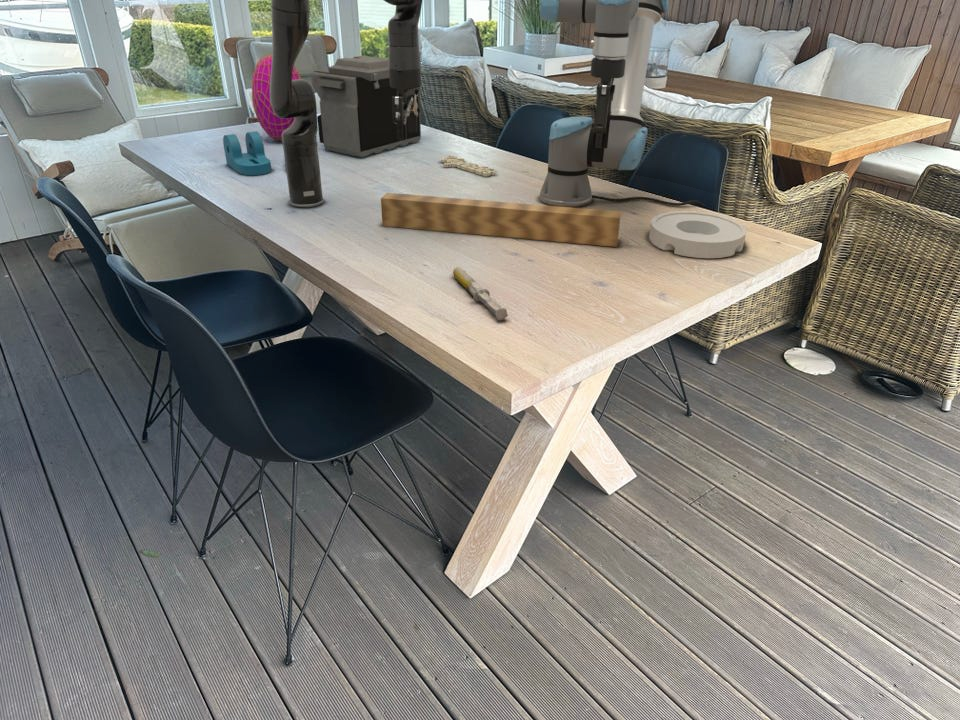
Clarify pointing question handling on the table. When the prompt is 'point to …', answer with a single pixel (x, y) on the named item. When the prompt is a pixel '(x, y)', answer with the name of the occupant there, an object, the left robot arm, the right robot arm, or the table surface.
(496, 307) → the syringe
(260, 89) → the decorative egg
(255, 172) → the camera mount
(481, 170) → the decorative sign
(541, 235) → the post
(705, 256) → the ashtray
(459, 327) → the table surface
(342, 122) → the cooler box
